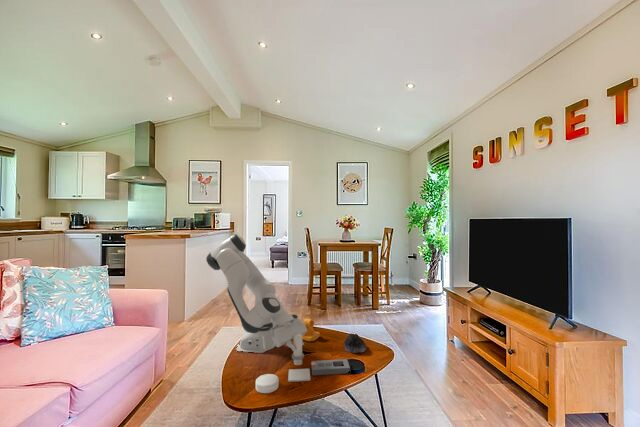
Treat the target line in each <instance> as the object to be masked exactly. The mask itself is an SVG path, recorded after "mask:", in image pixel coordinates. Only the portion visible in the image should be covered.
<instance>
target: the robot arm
mask: <svg viewBox="0 0 640 427" xmlns="http://www.w3.org/2000/svg"><path fill="white" fill-rule="evenodd" d="M246 247H247V244H246V242H245V240H244V238H243V237H242V236H240V235H238V234H235V233H234V234H231V235H230V236H229V237H228V238H227V239H225V240H223V241H221V242H220V243H219V245H217V246H216V247H215V248H214V249H213V250H212V251H211V252H209V253H208V254H207V256H206V260H205V261H206V263H207V265H208V266H209V267H210V268H211V269H212V270H213V271H220V270H221V272H222V274H223V275H224V276H225V278H226V281H227V294H228V296H229V297H230V300H231V302H232V304H233V306H234V309H235V310H236V313H237V315H238V316H239V319H240V323H241V326H242V328H243V330H244V331H245V332H244V334H242V335H241V338H240V342H239V343H240V345H239V343H238V344H237V345H236V347H237V346H238V347H237V348H236V347H235V350H237V351H243V352H242V353H248V352H254V353H255V354H256V353H257V354H262V353H265V352H266V351H267V352H268V351H270V350H272V349H274V348H275V347H277V348H280V347H282V346H284V345H286V346H287V347H288V348H290V349H291V351H292V352H294V350H296V349H297V347H296V346H295V345H294V343H292V342H293V341H294V339H293V335H294V334H296V333H300V334H302V335H304V334H305V333H306V332H307V328H306V327H305V325H304V324H303V321H302V320H301V319H300V317H299V315H298V314H296V313H295V314H293V313H289V312H288V311H287V310H286V309H285V308H284V305H283V303H282V302H281V300H280V299H279V298H278V297H277V296H276V293H277V291H276V287H275V285H274V284H273V282H271V281H270V280H268V278H266V277H265V276H264V275H263V274H262V272H261V271H260V270H259V268H258V267H257V266H256V265H255V263H254V262H253V261H252V260H251V259H250V258H249V257H248V255H246V254H245V249H246ZM245 286H246V287H247V288H248V289H249V290H250V292H251V293H252V294H253V295H254V297H255V298H254V299H255V300H254V306H253V307H252V308H250V309H249V307H248V305H247V303H246V301H245V299H244V297H243V291H244V288H245ZM304 345H305V344H304V340H302V347H303V346H304ZM237 351H236V352H237ZM254 353H253V354H254Z"/></svg>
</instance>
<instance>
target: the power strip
mask: <svg viewBox="0 0 640 427" xmlns="http://www.w3.org/2000/svg"><path fill="white" fill-rule="evenodd" d="M310 362H311V363H310V364H311V365H310V366H311V375H312V376H323V375H324V376H325V375H341V374H342V375H343V374H344V375H345V374H349V373H348V372H349V371H350V372H351V366H350V364H349V361H348V359H347V358H343V359H342V358H341V359H327V360H326V359H325V360H324V359H322V360H311V361H310ZM342 364H343V365H344V366H342Z"/></svg>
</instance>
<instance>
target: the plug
mask: <svg viewBox="0 0 640 427" xmlns="http://www.w3.org/2000/svg"><path fill="white" fill-rule="evenodd" d="M293 339H294V340H293V345H295V346H296V347H297V349H296V350H294V351H293V353H292V354H291V358H292V359H293V365H295V366H301V365H303V359H304V358H305V354H304V353H303V346H302V341H303V340H302V334H300V333H296V334H294V335H293Z"/></svg>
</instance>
